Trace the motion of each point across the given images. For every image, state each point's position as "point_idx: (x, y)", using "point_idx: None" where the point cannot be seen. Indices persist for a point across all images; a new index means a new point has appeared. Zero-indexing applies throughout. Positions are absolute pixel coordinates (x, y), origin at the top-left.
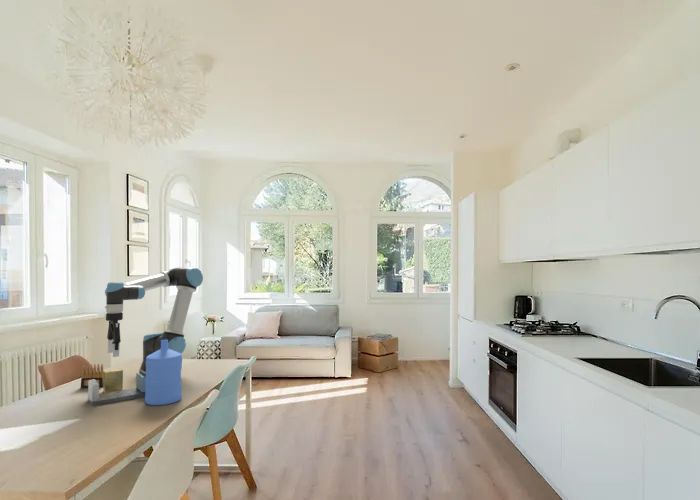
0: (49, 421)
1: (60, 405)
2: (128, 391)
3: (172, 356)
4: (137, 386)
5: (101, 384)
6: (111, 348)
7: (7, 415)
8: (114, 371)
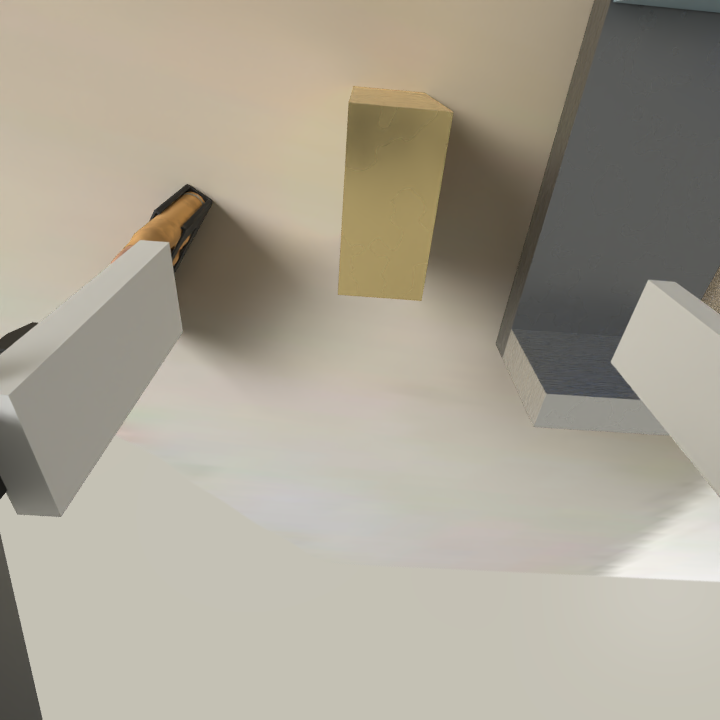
0: (680, 498)
1: (475, 445)
2: (664, 114)
3: None
4: (683, 6)
5: (203, 215)
6: (143, 317)
7: (450, 565)
8: (434, 212)
